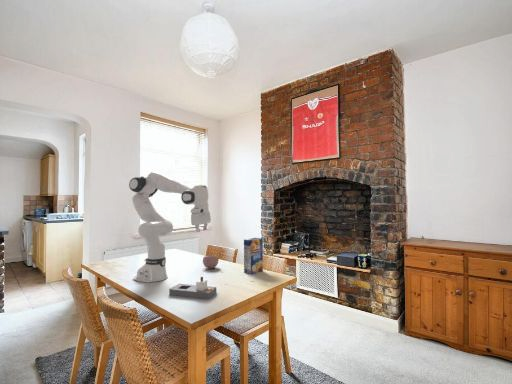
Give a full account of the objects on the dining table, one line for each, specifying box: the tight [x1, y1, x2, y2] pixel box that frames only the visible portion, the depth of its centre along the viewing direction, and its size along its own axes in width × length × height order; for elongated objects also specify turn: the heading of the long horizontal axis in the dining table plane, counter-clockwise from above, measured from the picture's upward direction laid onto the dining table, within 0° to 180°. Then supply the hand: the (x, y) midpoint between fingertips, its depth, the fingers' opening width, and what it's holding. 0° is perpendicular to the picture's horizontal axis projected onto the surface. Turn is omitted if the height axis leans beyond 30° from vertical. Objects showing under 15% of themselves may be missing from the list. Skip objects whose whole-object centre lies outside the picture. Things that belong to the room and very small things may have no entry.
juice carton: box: [243, 237, 264, 275], centre depth 202 cm, size 12×8×24 cm, turn 135°
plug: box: [195, 276, 208, 291], centre depth 153 cm, size 4×4×10 cm
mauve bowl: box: [202, 252, 220, 269], centre depth 213 cm, size 12×12×12 cm
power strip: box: [168, 283, 217, 300], centre depth 154 cm, size 24×10×5 cm, turn 74°
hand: (201, 231), depth 178 cm, fingers open, 8 cm apart
